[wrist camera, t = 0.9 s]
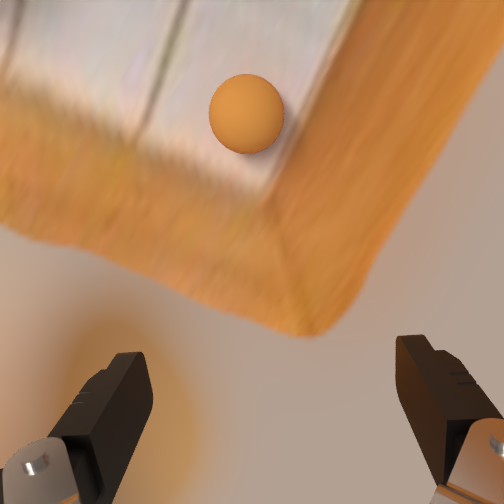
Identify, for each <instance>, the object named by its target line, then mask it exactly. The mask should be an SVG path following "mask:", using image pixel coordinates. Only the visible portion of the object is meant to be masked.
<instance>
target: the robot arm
mask: <svg viewBox="0 0 504 504" xmlns="http://www.w3.org/2000/svg"><path fill="white" fill-rule="evenodd" d="M395 377H396V389H397V393H398V397H399V400H400V403H401V405H402V407H403V409H404V412H405V414H406V416H407V419H408V421H409V423H410V425H411V428H412V430H413V432H414V435H415V437H416V439H417V442H418V443H419V446H420V448H421V451H422V453H423V455H424V458H425V460H426V462H427V464H428V467H429V469H430V471H431V474H432V476H433V478H434V480H435V483H436V485H437V488H436V490H435V493H434V495H433V498H432V500H431V502H430V504H504V418H503V417H502V415H501V414H500V413H499V411H498V410H497V409H496V407H495V406H494V405H493V403H492V402H491V401H490V399H489V398H488V397H487V396H486V394H485V393H484V391H483V390H482V389H481V388H480V386H479V385H477V384H476V381H475V380H474V378H473V377H472V376H471V374H469V372H468V370H467V369H466V368H465V366H464V365H463V364H462V362H461V361H460V360H459V359H457V358H456V357H454V356H453V355H451V354H450V353H448V352H447V351H445V350H436V351H435V350H434V349H433V347H432V346H431V344H430V343H429V342H428V340H427V339H426V337H425V336H424V335H407V336H398V337H397V338H396V375H395ZM152 405H153V392H152V387H151V382H150V378H149V374H148V369H147V365H146V361H145V357H144V354H143V353H142V352H128V353H118V354H116V356H115V357H114V359H113V360H112V361H111V363H110V364H109V366H108V368H107V369H105V370H100V371H99V372H98V373H97V374H95V375H94V376H93V377H91V378H90V379H89V380H88V381H87V382H86V384H85V385H84V386H83V388H82V389H81V391H80V392H79V394H78V395H77V396H76V397H75V399H74V400H73V402H72V404H71V405H70V406H69V407H68V409H67V410H66V411H65V413H64V414H63V416H62V417H61V418H60V420H59V421H58V422H57V424H56V425H55V427H54V428H53V429H52V431H51V432H50V434H49V435H48V436H47V438H42V439H39V440H36V441H34V442H31V443H29V444H27V445H26V446H24V447H22V448H21V449H20V450H18V451H17V452H16V453H15V454H14V455H13V456H12V457H11V458H10V459H9V460H8V461H7V463H6V464H5V466H4V468H3V469H0V504H112V502H113V499H114V497H115V495H116V492H117V490H118V488H119V485H120V483H121V481H122V478H123V476H124V474H125V471H126V469H127V466H128V464H129V462H130V459H131V457H132V455H133V453H134V450H135V448H136V446H137V443H138V441H139V439H140V436H141V434H142V431H143V429H144V427H145V425H146V422H147V420H148V418H149V415H150V413H151V410H152Z"/></svg>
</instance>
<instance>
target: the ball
mask: <svg viewBox="0 0 504 504" xmlns="http://www.w3.org/2000/svg"><path fill="white" fill-rule="evenodd" d="M209 120H210V125H211V128H212V130H213V133H214V134H215V136H216V138H217V139H218V140H219V141H220V142H221V143H222V144H223V145H224V146H225V147H227V148H228V149H230V150H232V151H234V152H237V153H243V154H251V153H256V152H259V151H262V150H264V149H265V148H267V147H268V146H270V145H271V144H272V143H273V142H274V141H275V139H276V138H277V136H278V135H279V133H280V131H281V128H282V125H283V120H284V108H283V103H282V100H281V97H280V95H279V93H278V92H277V90H276V89H275V88H274V87H273V85H272V84H270V83H269V82H268V81H267V80H265V79H263V78H261V77H259V76H256V75H250V74H243V75H237V76H234V77H232V78H230V79H228V80H226V81H225V82H224V83H222V84H221V85H220V86H219V88H218V89H217V90H216V92H215V93H214V95H213V97H212V100H211V103H210V108H209Z"/></svg>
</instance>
